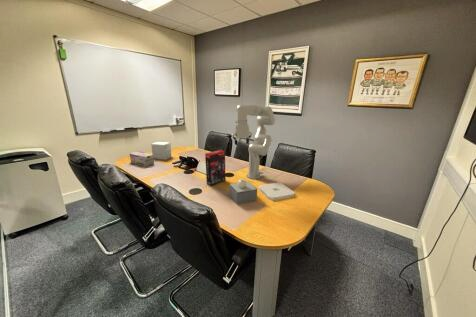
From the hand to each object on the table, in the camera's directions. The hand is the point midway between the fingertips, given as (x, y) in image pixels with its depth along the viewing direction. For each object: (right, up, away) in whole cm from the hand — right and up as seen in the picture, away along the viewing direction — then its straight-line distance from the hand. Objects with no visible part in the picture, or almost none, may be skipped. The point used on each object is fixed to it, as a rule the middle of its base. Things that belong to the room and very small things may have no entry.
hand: (241, 144), depth 151 cm
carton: (0, -40, -8) cm, 41 cm away
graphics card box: (-22, -32, +17) cm, 42 cm away
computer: (+27, -38, +2) cm, 47 cm away
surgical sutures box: (-107, -17, +60) cm, 124 cm away
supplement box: (-94, -10, +81) cm, 124 cm away
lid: (+1, -32, -10) cm, 34 cm away
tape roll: (0, -31, -11) cm, 33 cm away
